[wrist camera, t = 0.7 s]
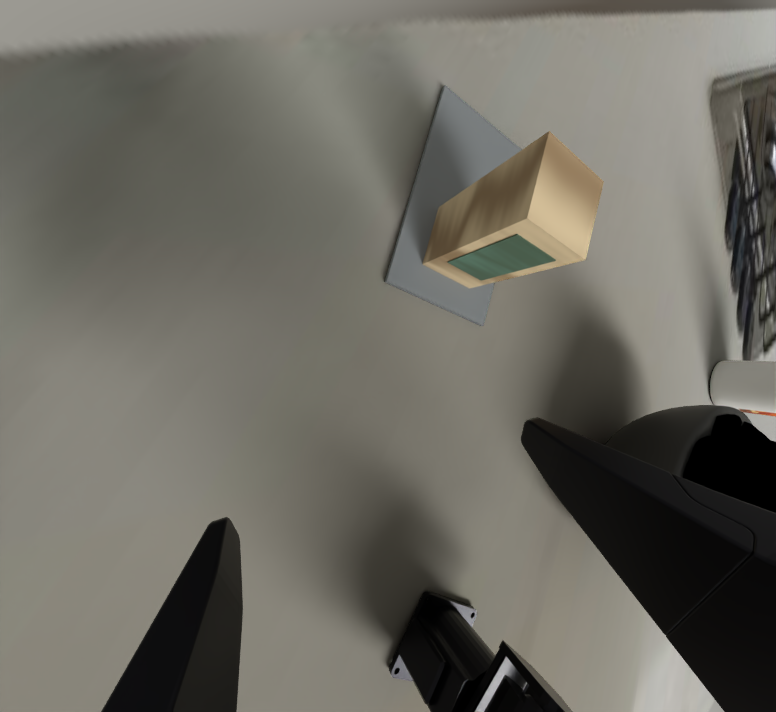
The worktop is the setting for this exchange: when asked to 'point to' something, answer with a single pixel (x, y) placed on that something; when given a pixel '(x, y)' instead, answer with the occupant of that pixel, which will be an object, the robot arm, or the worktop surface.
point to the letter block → (517, 218)
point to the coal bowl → (706, 450)
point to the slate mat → (434, 188)
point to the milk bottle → (745, 386)
